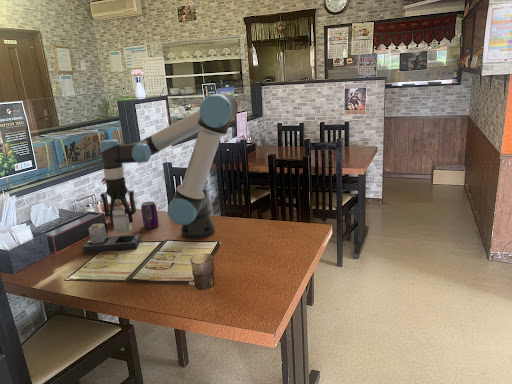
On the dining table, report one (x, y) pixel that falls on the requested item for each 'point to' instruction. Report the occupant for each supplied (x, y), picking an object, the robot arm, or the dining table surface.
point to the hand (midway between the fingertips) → (123, 230)
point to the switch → (109, 241)
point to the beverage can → (149, 215)
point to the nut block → (120, 219)
